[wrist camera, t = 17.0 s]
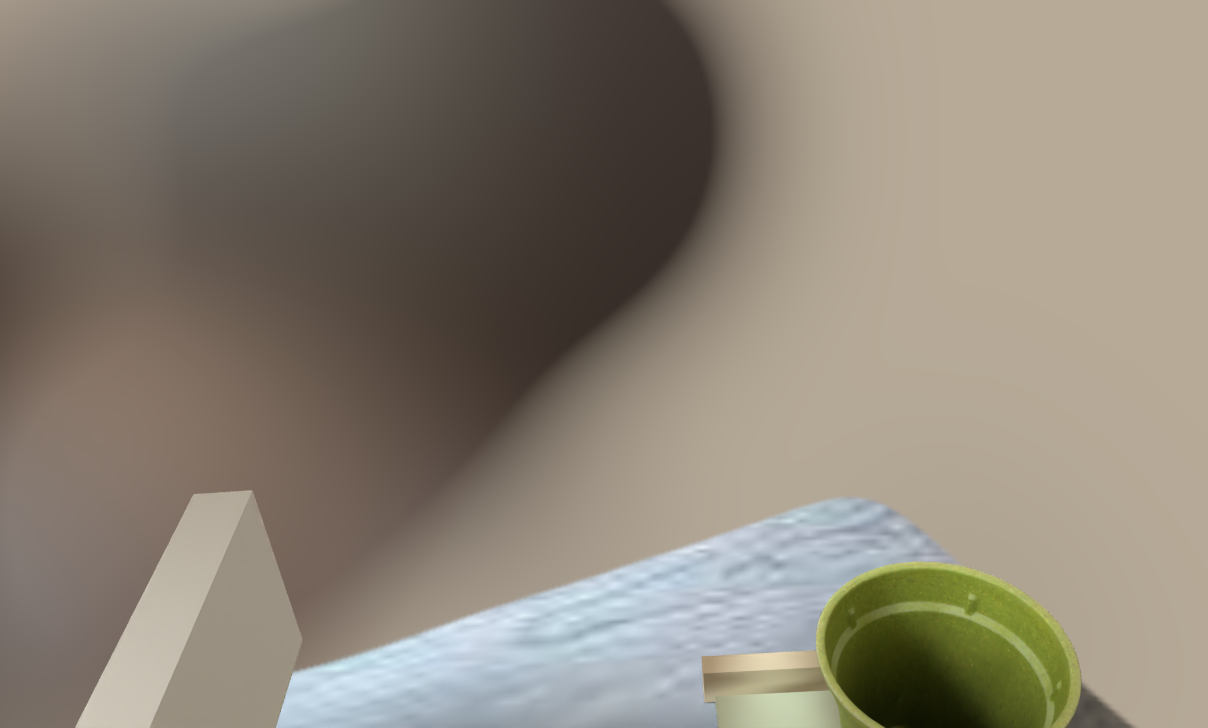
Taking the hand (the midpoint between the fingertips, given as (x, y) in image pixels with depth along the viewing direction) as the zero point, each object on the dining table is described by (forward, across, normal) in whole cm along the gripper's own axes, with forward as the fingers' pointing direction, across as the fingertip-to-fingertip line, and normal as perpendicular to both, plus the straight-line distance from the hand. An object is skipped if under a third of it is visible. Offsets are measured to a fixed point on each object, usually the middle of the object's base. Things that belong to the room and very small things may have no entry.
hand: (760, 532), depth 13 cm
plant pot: (+16, +9, -30) cm, 35 cm away
